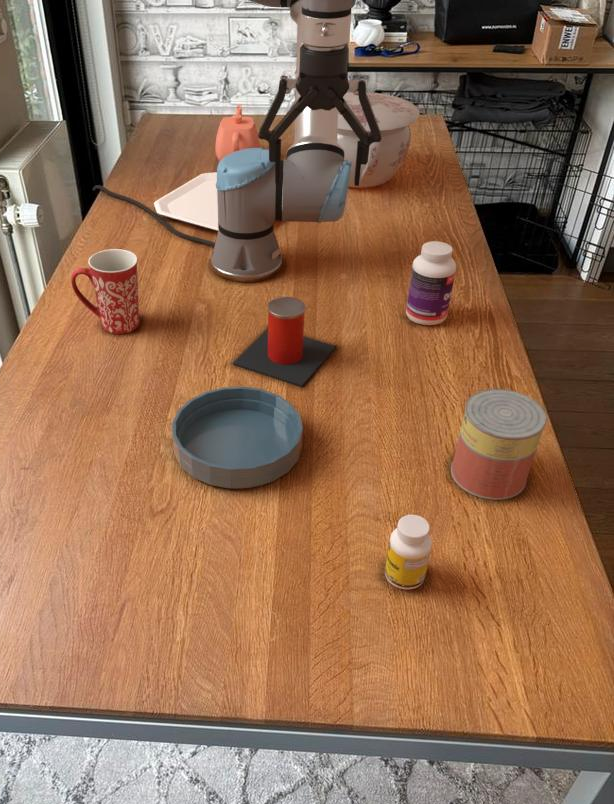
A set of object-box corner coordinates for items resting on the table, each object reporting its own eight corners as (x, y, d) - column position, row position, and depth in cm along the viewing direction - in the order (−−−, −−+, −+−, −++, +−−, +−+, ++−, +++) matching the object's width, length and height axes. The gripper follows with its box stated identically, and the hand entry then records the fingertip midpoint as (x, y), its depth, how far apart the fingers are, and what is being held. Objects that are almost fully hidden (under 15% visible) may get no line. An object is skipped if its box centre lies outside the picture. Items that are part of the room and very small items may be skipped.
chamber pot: (339, 150, 216) (345, 68, 202) (429, 172, 204) (442, 88, 190) (282, 183, 199) (284, 97, 185) (377, 210, 188) (387, 120, 173)
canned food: (477, 440, 125) (493, 379, 117) (540, 474, 119) (561, 412, 111) (436, 474, 119) (449, 412, 111) (499, 511, 113) (519, 448, 105)
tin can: (259, 353, 143) (259, 305, 136) (286, 340, 146) (287, 292, 139) (283, 369, 139) (285, 320, 132) (310, 355, 142) (313, 307, 135)
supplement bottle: (380, 561, 106) (388, 511, 100) (419, 558, 107) (430, 508, 100) (388, 592, 102) (397, 542, 96) (429, 589, 103) (441, 539, 96)
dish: (149, 442, 125) (146, 421, 122) (245, 393, 134) (244, 372, 131) (228, 510, 114) (228, 488, 111) (327, 451, 123) (329, 429, 120)
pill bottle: (446, 330, 149) (459, 260, 139) (403, 325, 150) (414, 256, 140) (447, 308, 155) (460, 240, 145) (406, 304, 156) (416, 236, 146)
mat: (232, 364, 141) (232, 362, 140) (269, 328, 150) (269, 326, 149) (302, 387, 136) (302, 385, 135) (335, 347, 144) (336, 346, 144)
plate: (245, 246, 174) (245, 236, 173) (143, 217, 185) (142, 208, 184) (307, 200, 192) (308, 191, 190) (211, 175, 203) (210, 167, 202)
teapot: (259, 176, 203) (259, 128, 195) (213, 176, 203) (212, 128, 195) (260, 147, 217) (260, 102, 209) (218, 147, 218) (216, 101, 209)
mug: (146, 311, 154) (139, 247, 145) (143, 336, 148) (135, 271, 138) (82, 312, 154) (71, 248, 145) (76, 337, 147) (64, 272, 138)
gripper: (241, 49, 118) (243, 188, 132) (407, 52, 116) (390, 192, 131) (245, 36, 123) (246, 170, 138) (404, 39, 122) (388, 174, 136)
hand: (317, 181), depth 134 cm, fingers open, 13 cm apart
